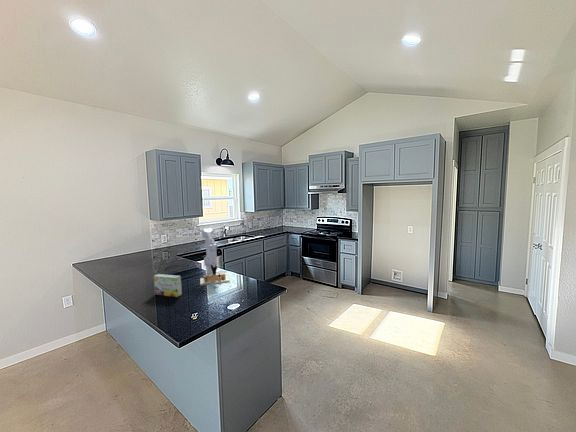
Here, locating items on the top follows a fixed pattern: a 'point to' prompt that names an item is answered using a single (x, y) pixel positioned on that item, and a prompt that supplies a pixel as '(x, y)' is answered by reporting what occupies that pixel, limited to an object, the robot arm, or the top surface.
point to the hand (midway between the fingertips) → (214, 273)
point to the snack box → (167, 285)
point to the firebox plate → (214, 280)
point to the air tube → (214, 276)
